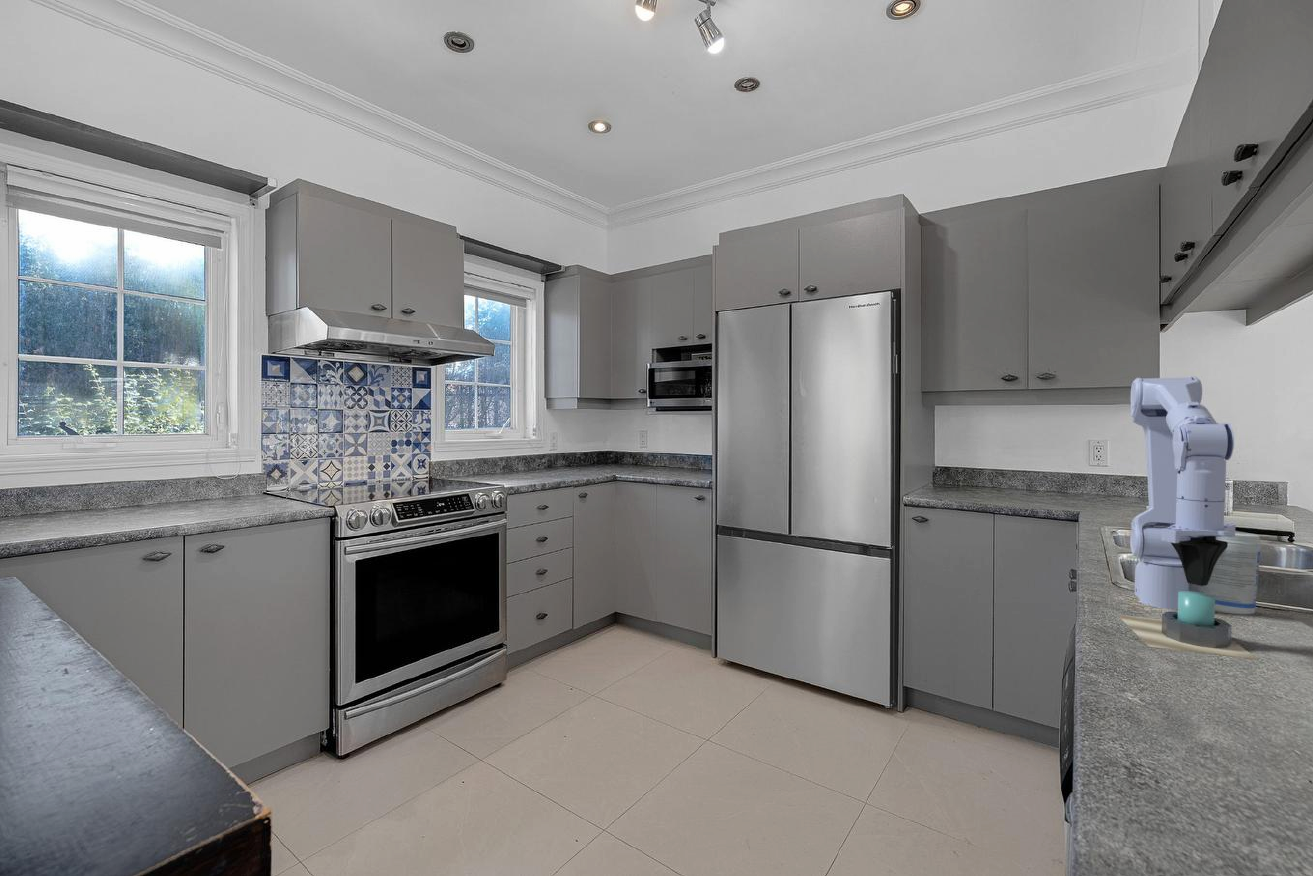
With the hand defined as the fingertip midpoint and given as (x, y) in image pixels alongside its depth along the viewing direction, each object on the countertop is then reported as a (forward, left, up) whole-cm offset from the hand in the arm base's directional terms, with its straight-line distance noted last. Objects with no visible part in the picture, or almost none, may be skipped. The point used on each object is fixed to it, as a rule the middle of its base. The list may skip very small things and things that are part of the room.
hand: (1197, 584), depth 97 cm
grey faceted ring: (0, 0, -9) cm, 9 cm away
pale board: (-1, -2, -10) cm, 10 cm away
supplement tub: (-22, +11, -10) cm, 27 cm away
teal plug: (0, 0, -9) cm, 9 cm away
